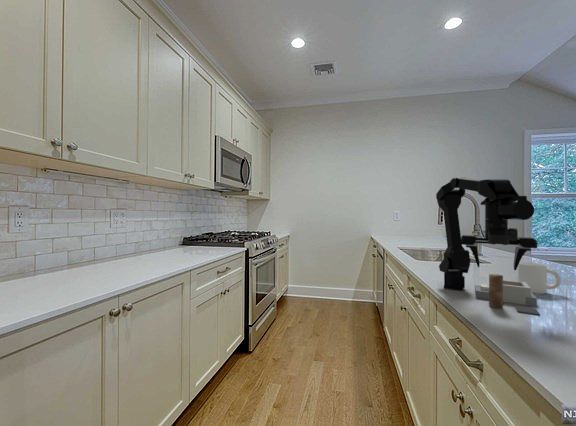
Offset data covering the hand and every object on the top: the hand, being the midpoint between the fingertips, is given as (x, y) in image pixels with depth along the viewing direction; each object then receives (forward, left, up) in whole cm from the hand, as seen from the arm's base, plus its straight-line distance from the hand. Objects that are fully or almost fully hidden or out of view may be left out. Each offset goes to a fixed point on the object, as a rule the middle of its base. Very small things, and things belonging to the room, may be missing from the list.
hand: (496, 268), depth 87 cm
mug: (+15, +28, -12) cm, 34 cm away
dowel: (0, 0, -12) cm, 12 cm away
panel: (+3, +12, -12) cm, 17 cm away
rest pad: (+7, 0, -12) cm, 14 cm away
